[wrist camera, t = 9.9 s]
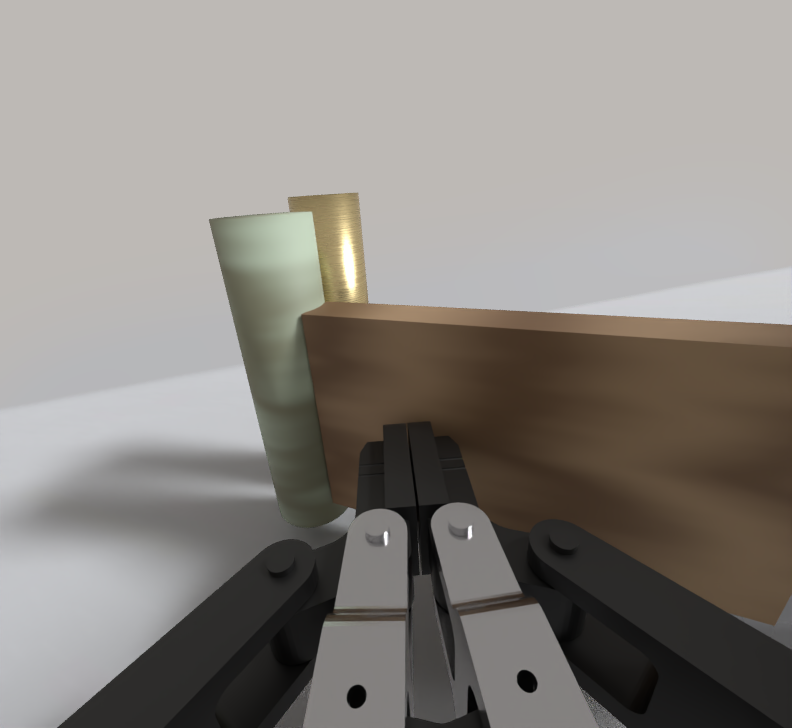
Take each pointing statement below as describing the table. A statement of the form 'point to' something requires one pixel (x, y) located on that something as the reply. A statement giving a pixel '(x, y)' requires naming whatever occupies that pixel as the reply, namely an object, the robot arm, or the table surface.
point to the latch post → (337, 244)
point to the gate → (530, 414)
